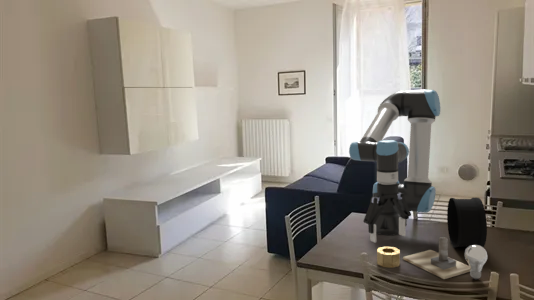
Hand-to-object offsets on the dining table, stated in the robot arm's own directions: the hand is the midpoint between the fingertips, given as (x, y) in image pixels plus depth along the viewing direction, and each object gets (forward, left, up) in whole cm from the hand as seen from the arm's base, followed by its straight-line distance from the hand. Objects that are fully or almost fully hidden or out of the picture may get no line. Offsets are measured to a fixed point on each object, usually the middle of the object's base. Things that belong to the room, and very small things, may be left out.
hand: (387, 238), depth 157 cm
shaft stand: (+10, +14, -10) cm, 20 cm away
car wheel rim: (+2, +38, -10) cm, 39 cm away
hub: (0, 0, -10) cm, 10 cm away
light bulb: (+25, +16, -10) cm, 31 cm away
